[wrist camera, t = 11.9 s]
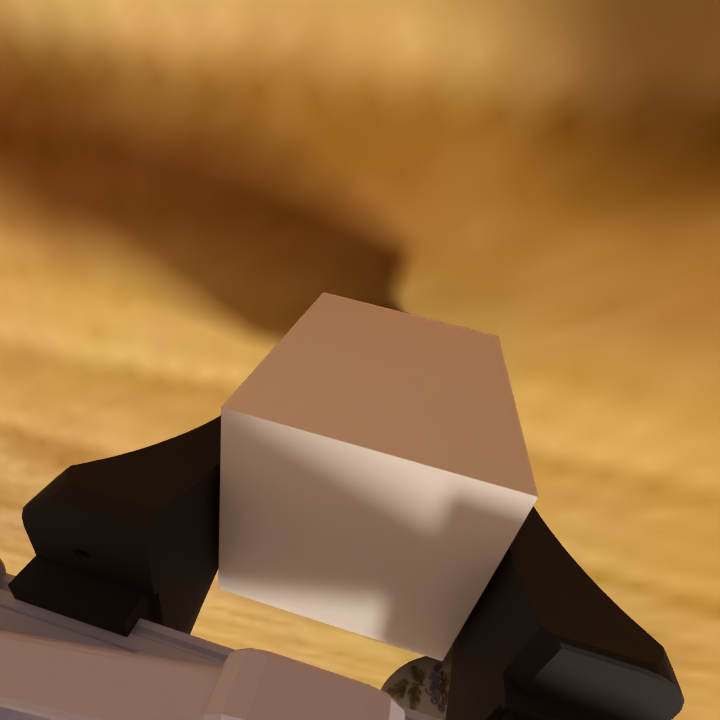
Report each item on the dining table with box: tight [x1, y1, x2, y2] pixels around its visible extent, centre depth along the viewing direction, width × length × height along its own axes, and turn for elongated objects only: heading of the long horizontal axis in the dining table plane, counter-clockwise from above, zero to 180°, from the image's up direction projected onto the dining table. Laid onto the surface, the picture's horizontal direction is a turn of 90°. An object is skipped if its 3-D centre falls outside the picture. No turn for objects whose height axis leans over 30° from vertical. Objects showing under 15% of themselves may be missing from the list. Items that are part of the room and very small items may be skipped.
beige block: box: [218, 292, 538, 661], centre depth 12 cm, size 6×6×7 cm
